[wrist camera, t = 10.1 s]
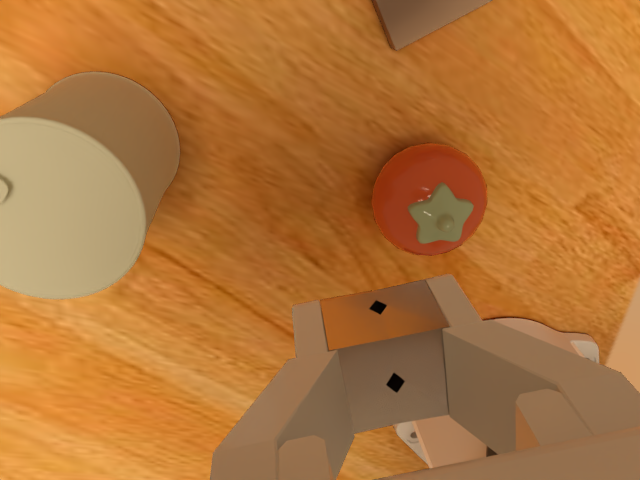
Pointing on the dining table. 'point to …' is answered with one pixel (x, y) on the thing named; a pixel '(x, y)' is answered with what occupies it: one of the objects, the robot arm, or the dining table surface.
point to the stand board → (419, 17)
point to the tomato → (429, 199)
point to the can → (81, 184)
